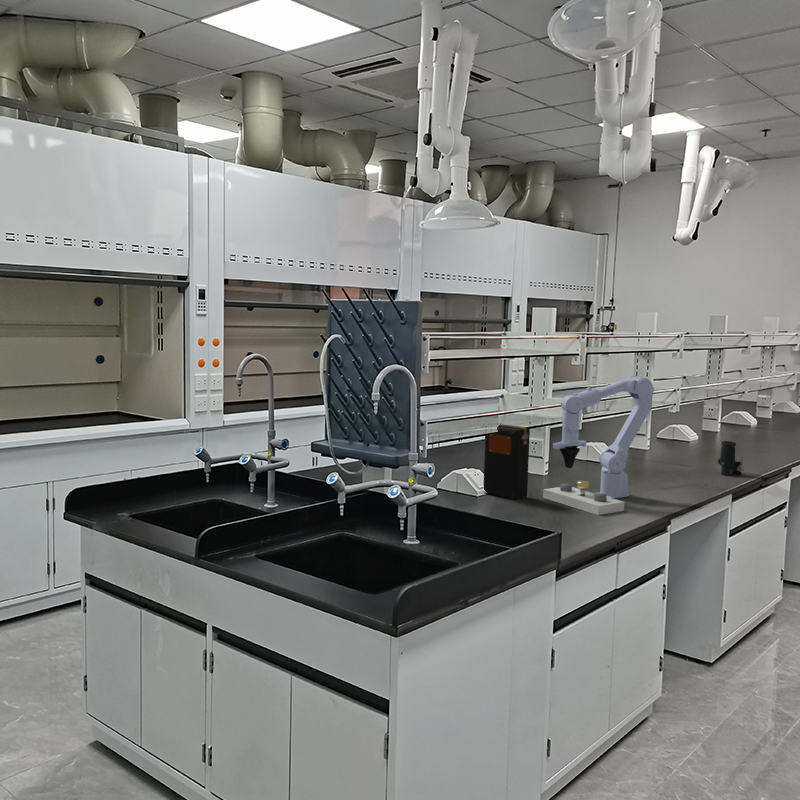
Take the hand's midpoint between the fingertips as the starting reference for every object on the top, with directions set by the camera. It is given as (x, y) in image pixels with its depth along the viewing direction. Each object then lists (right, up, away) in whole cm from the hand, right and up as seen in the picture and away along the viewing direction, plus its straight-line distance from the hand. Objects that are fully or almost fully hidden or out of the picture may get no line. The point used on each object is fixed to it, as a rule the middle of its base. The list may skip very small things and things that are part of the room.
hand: (568, 467), depth 262 cm
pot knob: (+2, -9, -10) cm, 14 cm away
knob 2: (+6, -13, -17) cm, 22 cm away
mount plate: (+2, -12, -10) cm, 15 cm away
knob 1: (-2, -11, -3) cm, 11 cm away
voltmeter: (-23, -10, 0) cm, 25 cm away
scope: (+77, -7, +45) cm, 89 cm away
